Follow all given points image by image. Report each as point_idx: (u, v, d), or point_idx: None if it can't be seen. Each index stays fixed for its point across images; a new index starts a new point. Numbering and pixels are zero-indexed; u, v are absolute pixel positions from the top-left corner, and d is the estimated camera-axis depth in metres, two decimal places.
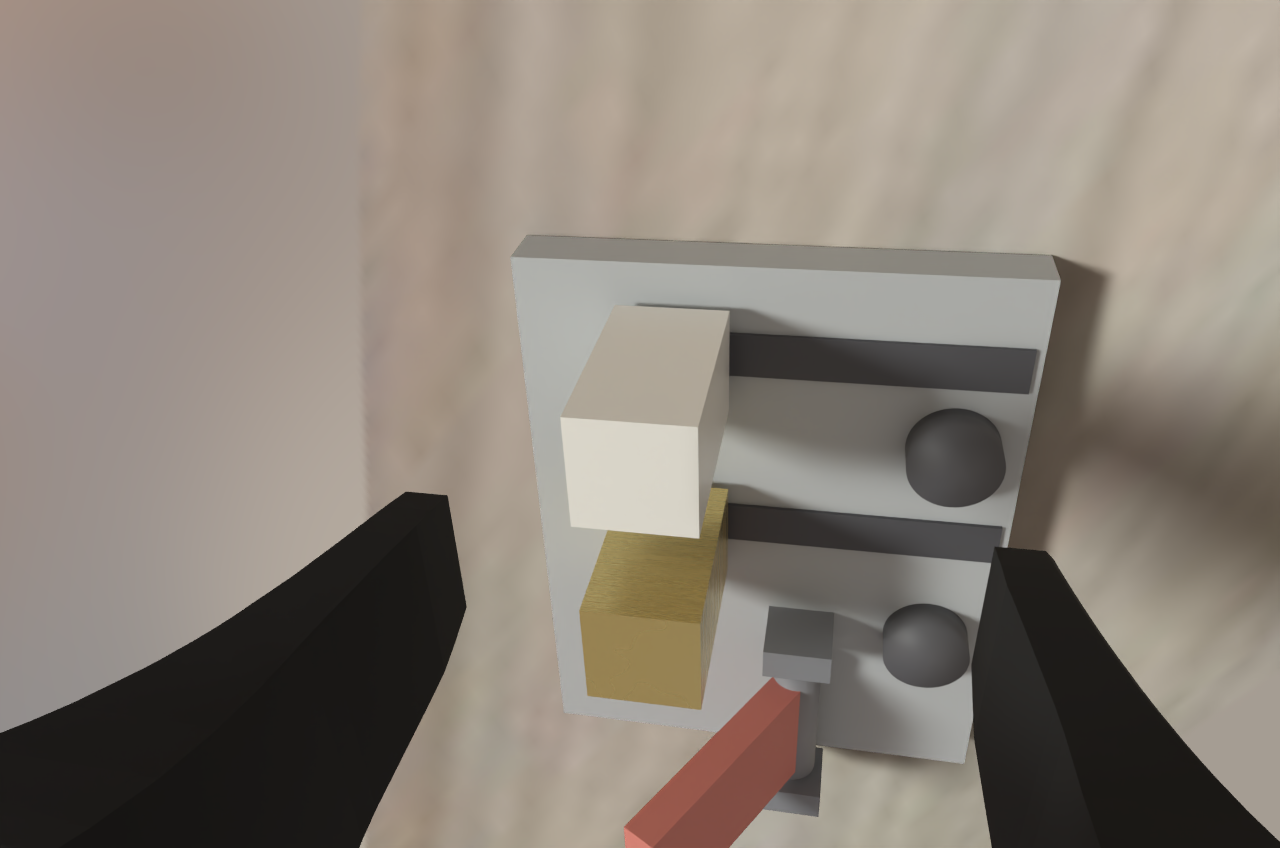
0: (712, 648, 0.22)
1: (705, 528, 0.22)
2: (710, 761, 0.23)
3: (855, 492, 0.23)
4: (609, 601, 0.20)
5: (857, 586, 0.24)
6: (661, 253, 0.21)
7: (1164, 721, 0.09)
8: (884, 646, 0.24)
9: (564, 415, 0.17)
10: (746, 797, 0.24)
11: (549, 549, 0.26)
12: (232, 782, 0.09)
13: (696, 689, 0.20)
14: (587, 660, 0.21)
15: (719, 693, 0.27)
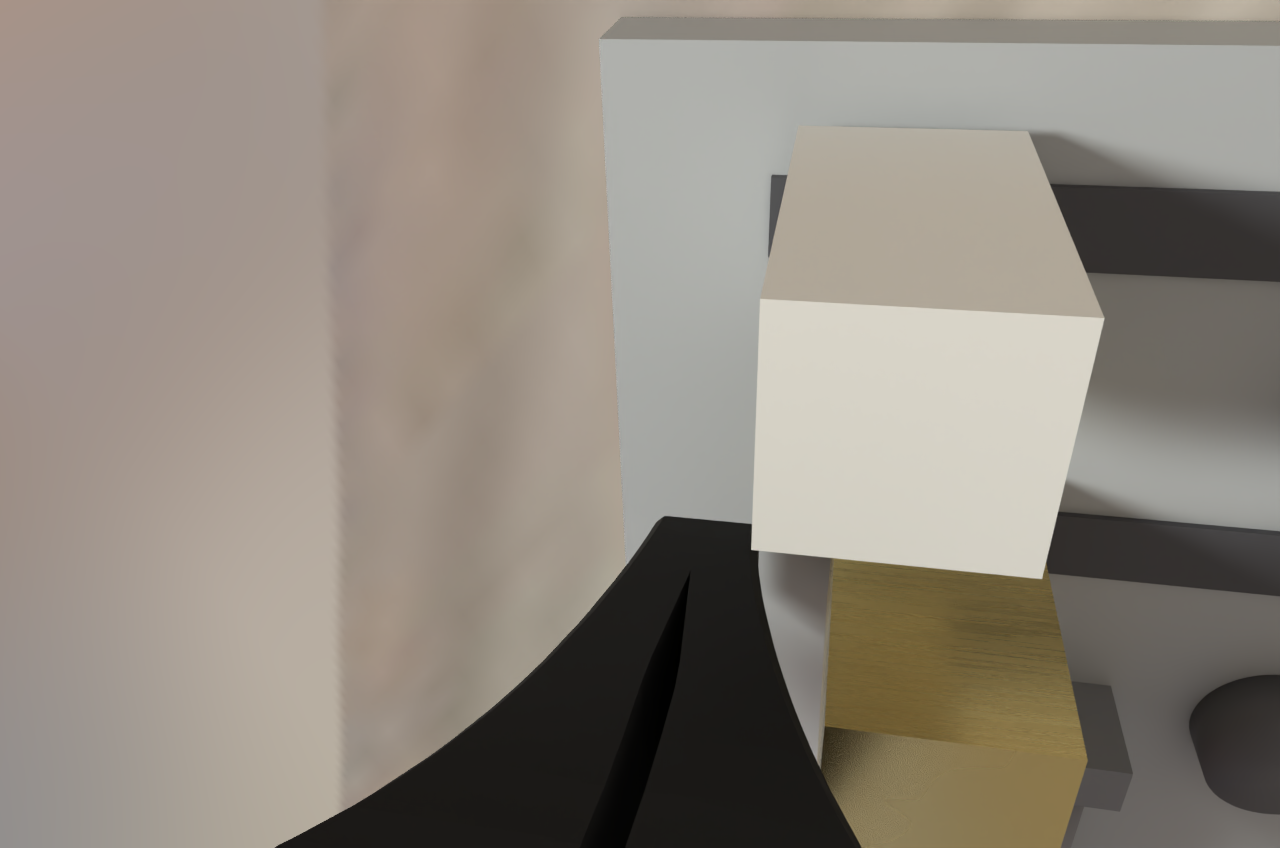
0: None
1: None
2: None
3: (1194, 485, 0.13)
4: (880, 704, 0.10)
5: (1161, 644, 0.14)
6: (886, 31, 0.11)
7: (773, 674, 0.10)
8: (1209, 747, 0.14)
9: (768, 295, 0.08)
10: None
11: None
12: (607, 840, 0.09)
13: None
14: None
15: None
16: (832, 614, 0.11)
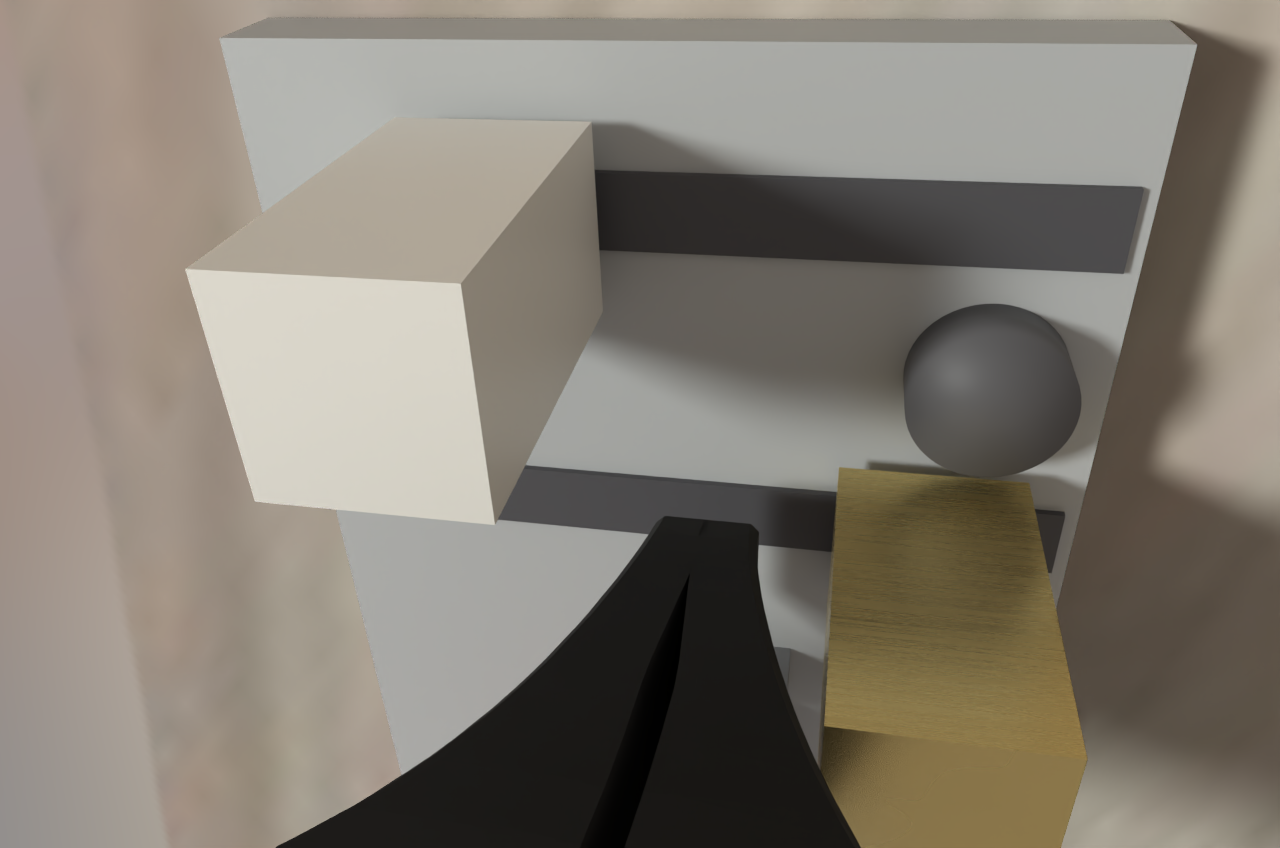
0: None
1: (1016, 554, 0.12)
2: None
3: (820, 454, 0.14)
4: (881, 704, 0.10)
5: (826, 608, 0.15)
6: (480, 30, 0.12)
7: (773, 674, 0.10)
8: None
9: (196, 266, 0.08)
10: None
11: (352, 547, 0.17)
12: (607, 840, 0.09)
13: None
14: None
15: None
16: (832, 614, 0.11)
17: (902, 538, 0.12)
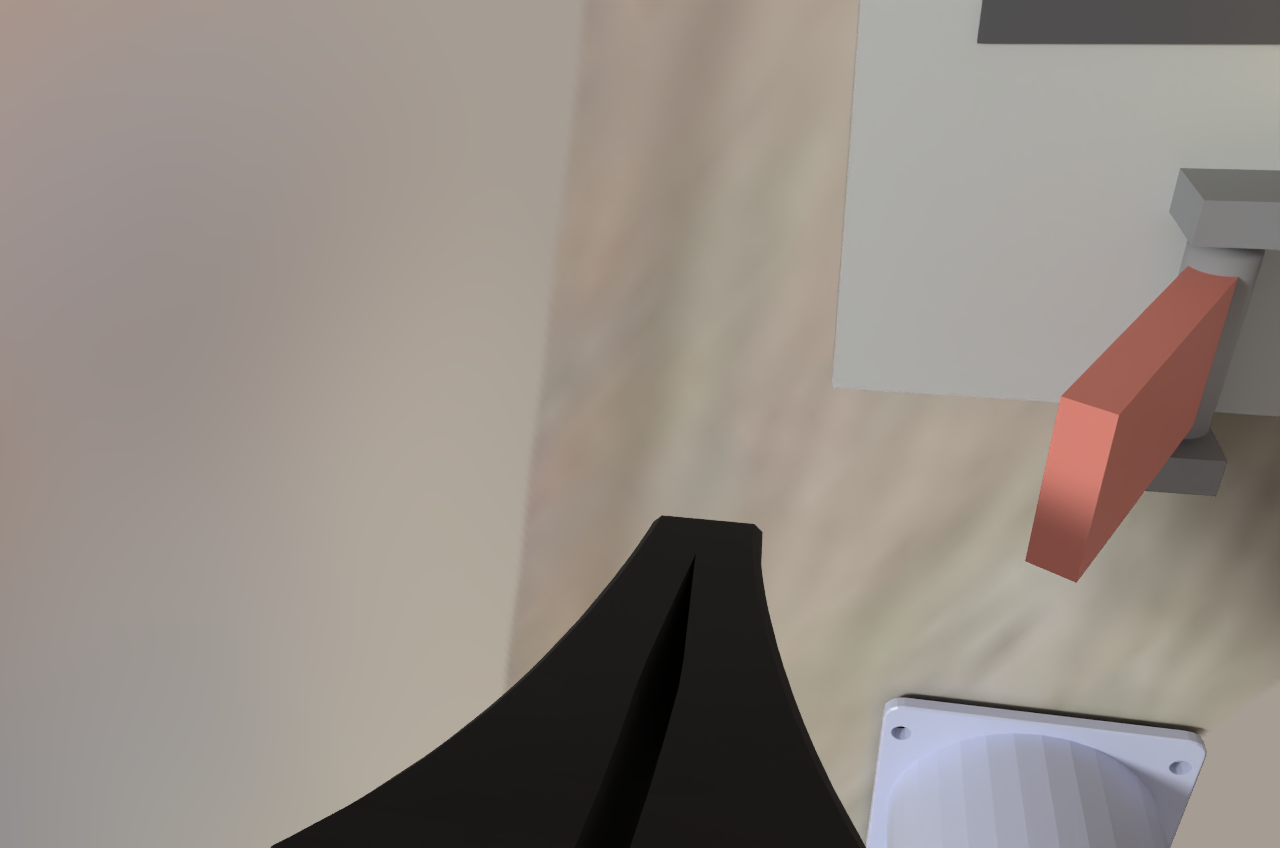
0: None
1: None
2: (1151, 337, 0.16)
3: None
4: None
5: None
6: None
7: (777, 675, 0.10)
8: None
9: None
10: (1170, 421, 0.17)
11: (860, 98, 0.18)
12: (603, 839, 0.09)
13: None
14: None
15: (1069, 334, 0.20)
16: None
17: None
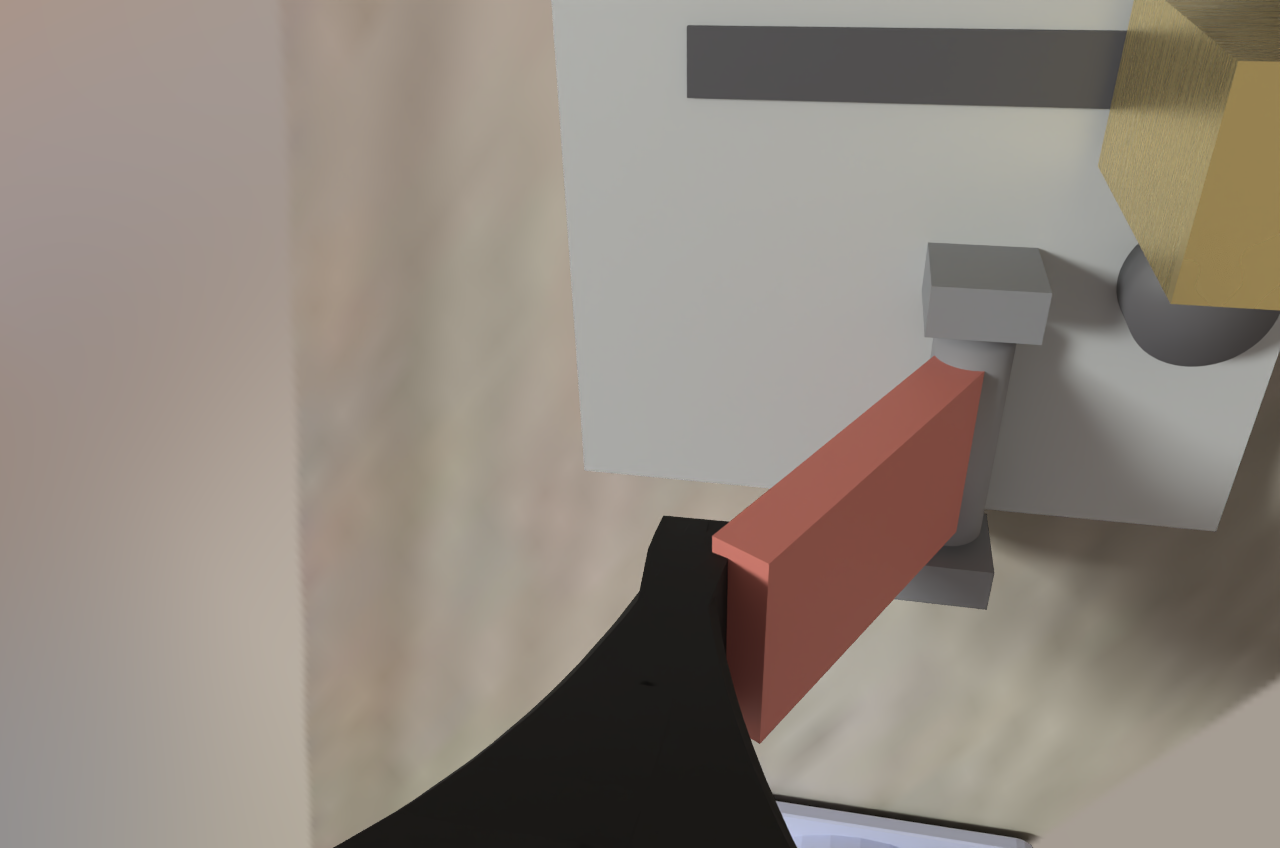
0: None
1: None
2: (853, 452, 0.13)
3: None
4: None
5: (1085, 189, 0.15)
6: None
7: (719, 668, 0.10)
8: (1132, 287, 0.14)
9: None
10: (899, 540, 0.14)
11: (569, 156, 0.16)
12: None
13: None
14: (1206, 206, 0.10)
15: (829, 420, 0.17)
16: (1195, 26, 0.10)
17: None
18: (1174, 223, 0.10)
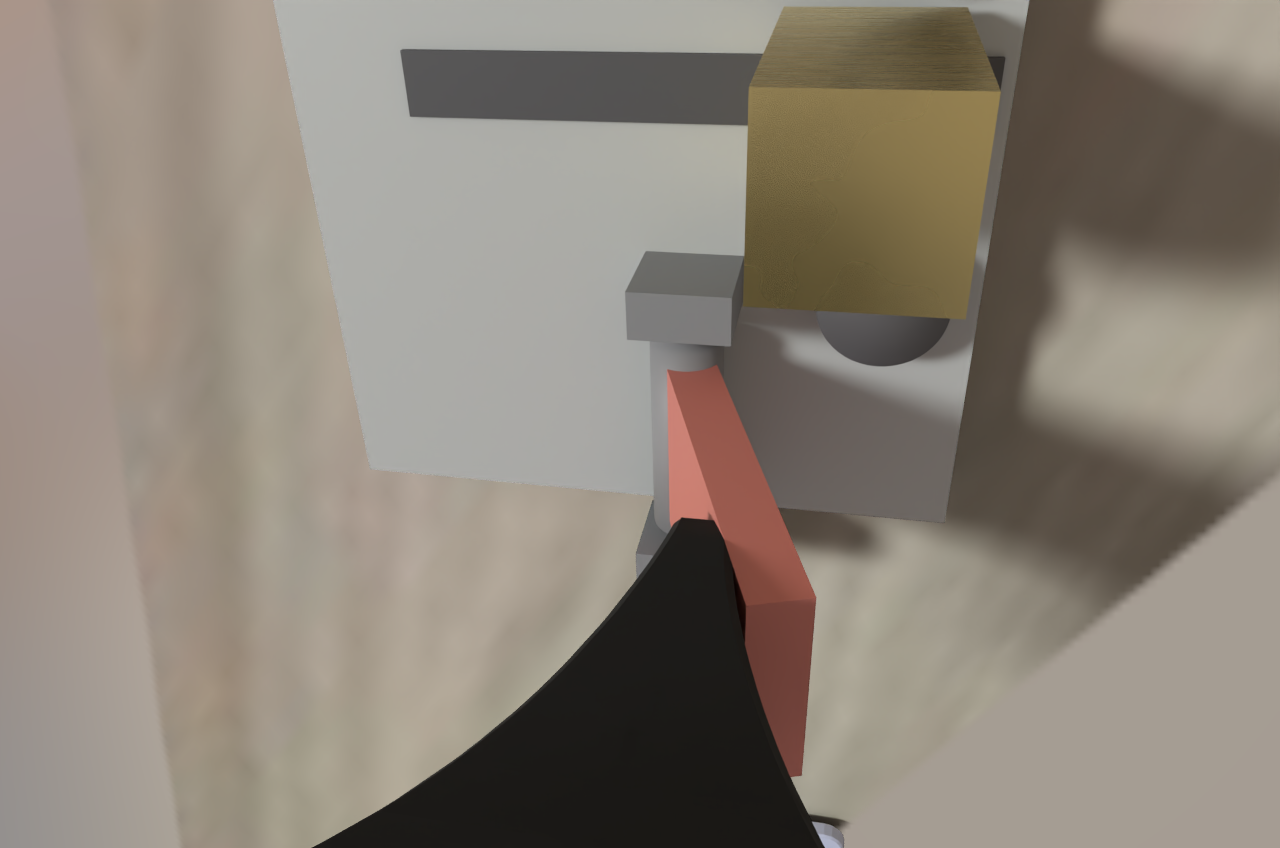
0: None
1: (949, 29, 0.12)
2: (731, 474, 0.13)
3: (767, 8, 0.14)
4: (804, 78, 0.10)
5: None
6: None
7: (742, 670, 0.10)
8: None
9: None
10: None
11: (315, 171, 0.17)
12: None
13: (964, 267, 0.11)
14: (752, 217, 0.11)
15: (583, 420, 0.18)
16: (765, 53, 0.11)
17: (839, 27, 0.12)
18: None
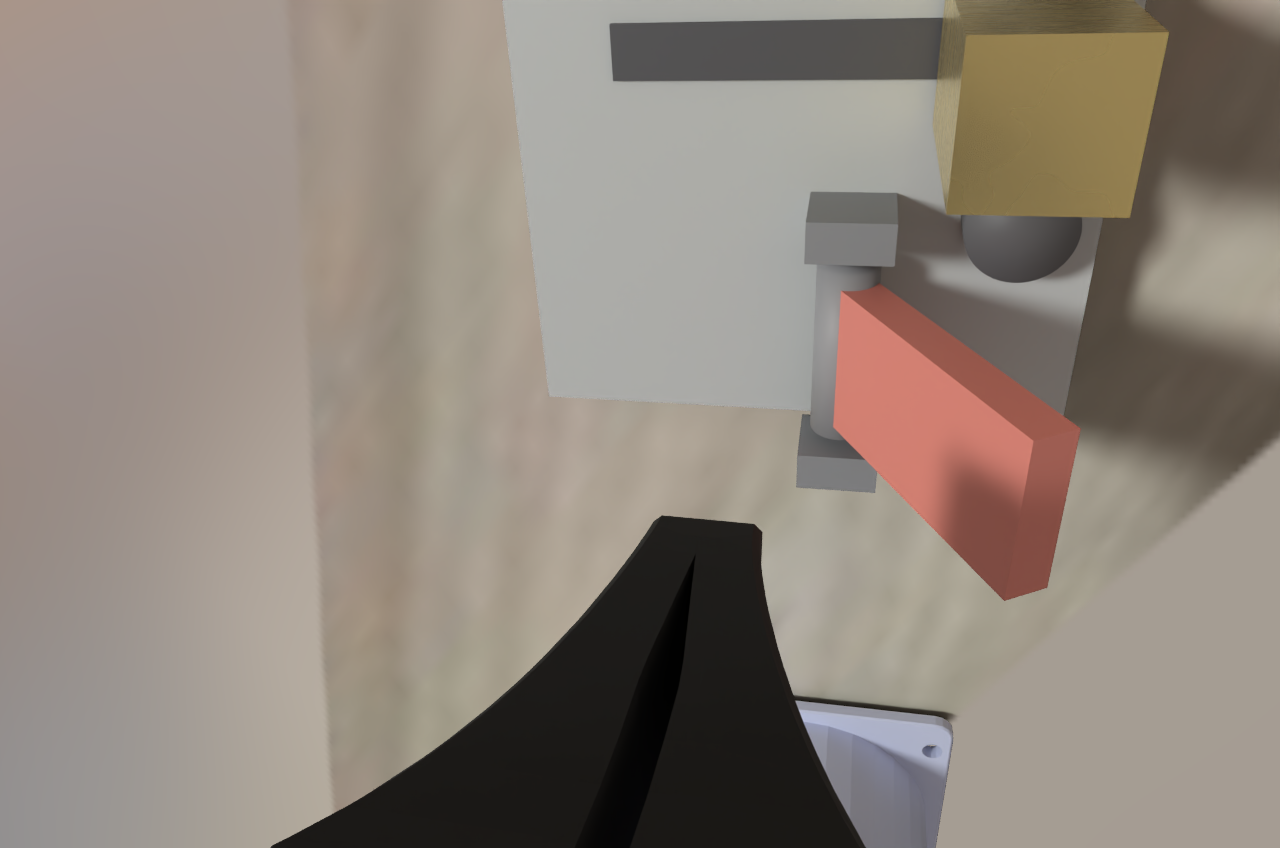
0: None
1: None
2: (954, 357, 0.16)
3: None
4: (1007, 28, 0.13)
5: (928, 144, 0.18)
6: None
7: (777, 675, 0.10)
8: (966, 220, 0.18)
9: None
10: None
11: (523, 131, 0.20)
12: (603, 839, 0.09)
13: (1131, 175, 0.13)
14: (960, 140, 0.14)
15: (745, 344, 0.21)
16: (959, 11, 0.14)
17: None
18: (948, 156, 0.14)
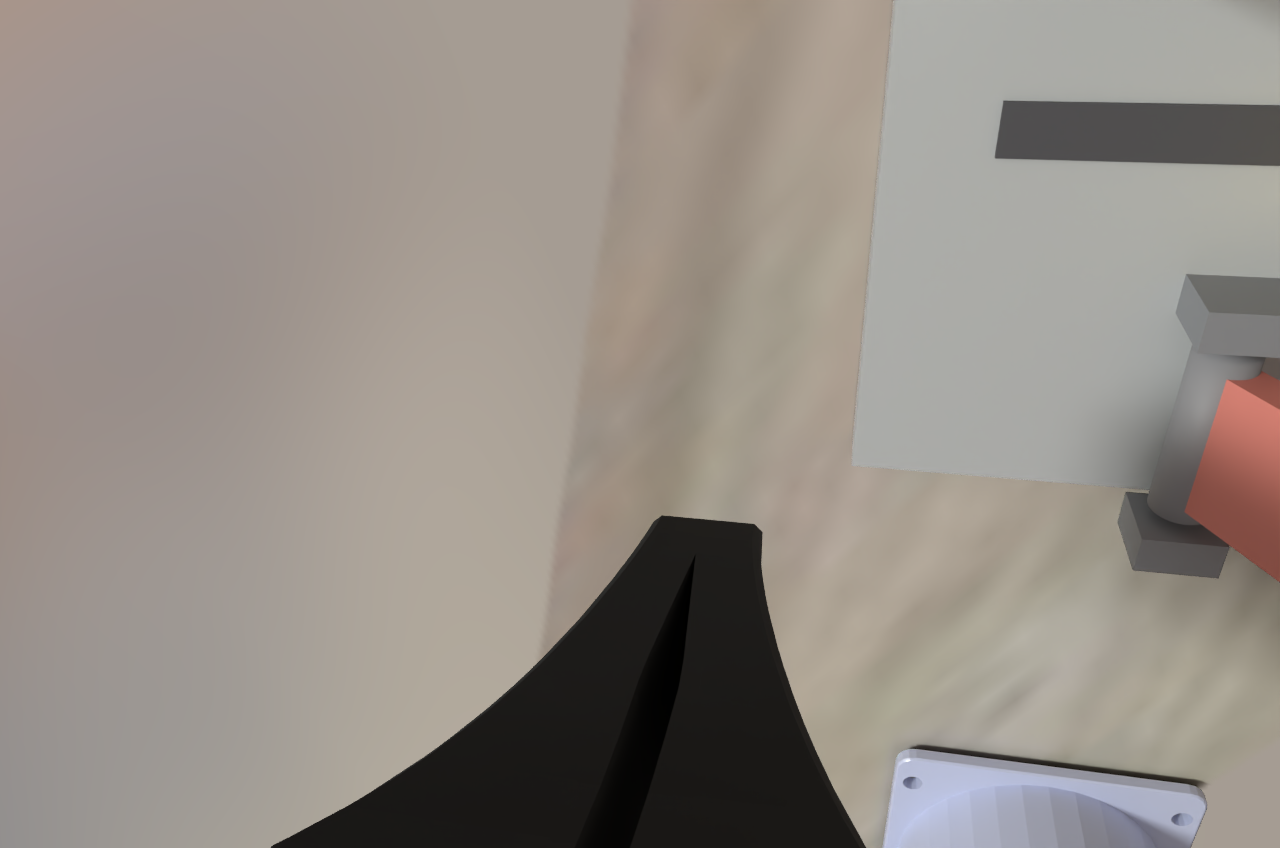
0: None
1: None
2: None
3: None
4: None
5: None
6: None
7: (777, 675, 0.10)
8: None
9: None
10: None
11: (882, 204, 0.19)
12: (603, 839, 0.09)
13: None
14: None
15: (1079, 421, 0.21)
16: None
17: None
18: None
